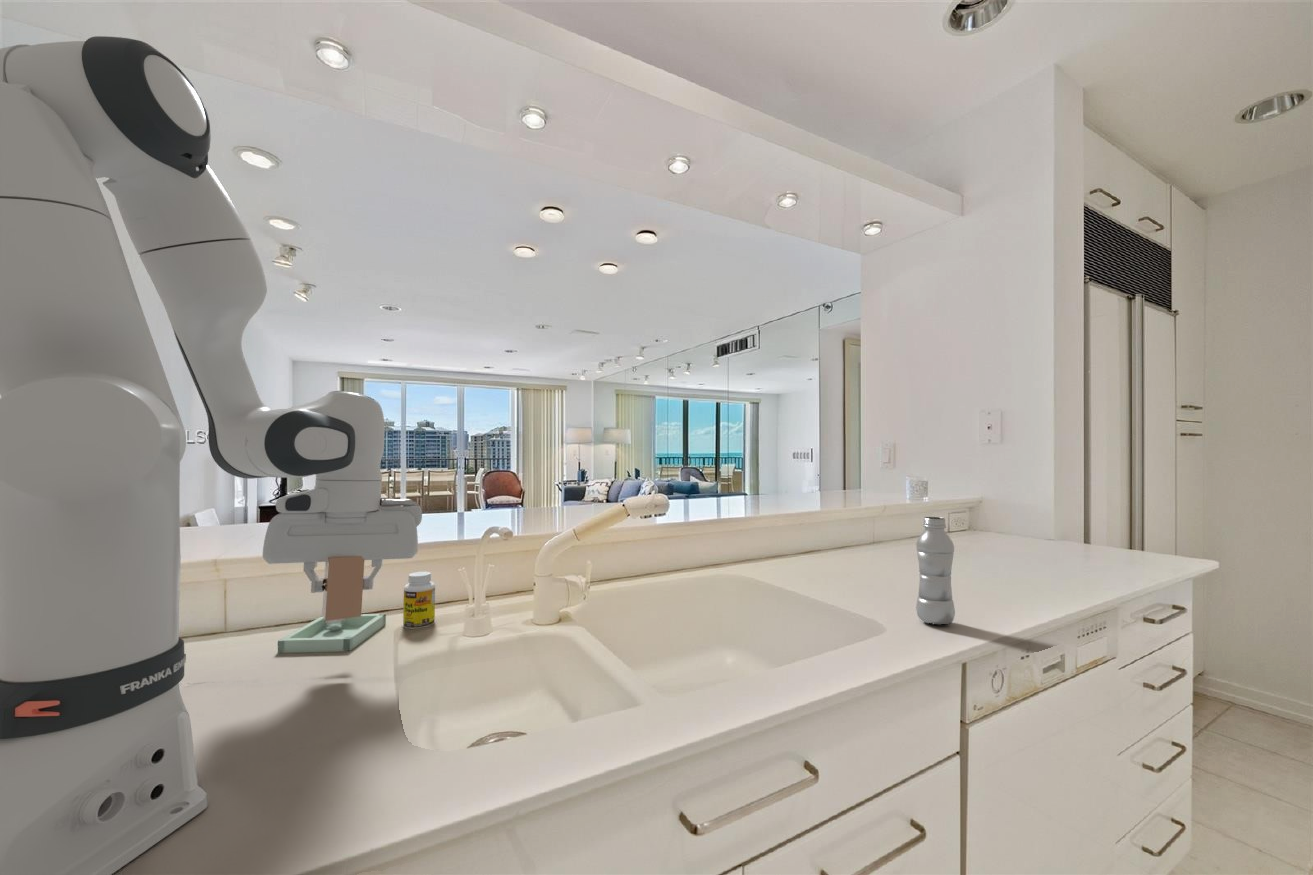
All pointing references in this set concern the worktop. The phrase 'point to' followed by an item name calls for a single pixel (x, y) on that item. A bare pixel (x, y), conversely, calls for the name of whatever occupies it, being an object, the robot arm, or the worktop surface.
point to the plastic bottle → (935, 573)
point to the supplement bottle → (419, 601)
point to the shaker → (343, 587)
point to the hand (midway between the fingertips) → (342, 590)
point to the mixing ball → (334, 624)
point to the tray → (331, 635)
